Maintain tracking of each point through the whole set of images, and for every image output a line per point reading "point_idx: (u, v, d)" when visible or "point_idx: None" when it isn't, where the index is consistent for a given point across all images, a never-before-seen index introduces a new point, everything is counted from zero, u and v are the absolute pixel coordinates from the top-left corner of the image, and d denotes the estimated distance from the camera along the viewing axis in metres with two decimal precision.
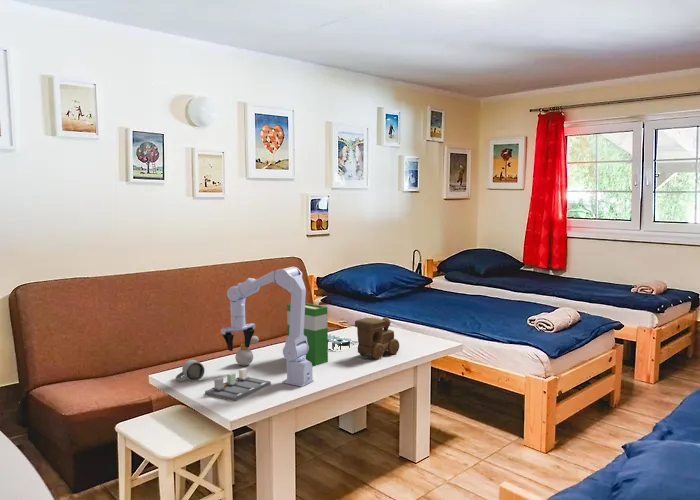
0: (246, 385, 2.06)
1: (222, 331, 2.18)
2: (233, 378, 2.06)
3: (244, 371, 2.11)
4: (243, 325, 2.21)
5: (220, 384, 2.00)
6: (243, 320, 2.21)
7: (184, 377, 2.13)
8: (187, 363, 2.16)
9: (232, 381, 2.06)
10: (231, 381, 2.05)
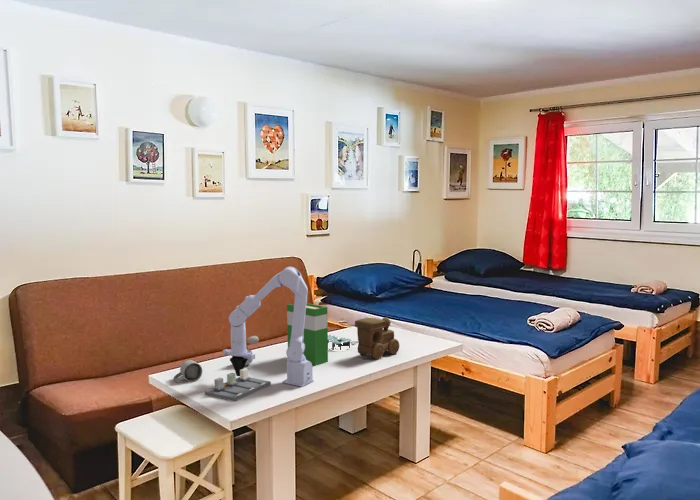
0: (246, 385, 2.06)
1: None
2: (233, 378, 2.06)
3: (245, 371, 2.11)
4: (235, 352, 2.09)
5: (220, 384, 2.00)
6: (235, 347, 2.09)
7: (182, 377, 2.13)
8: (185, 363, 2.16)
9: (232, 381, 2.06)
10: (231, 381, 2.05)
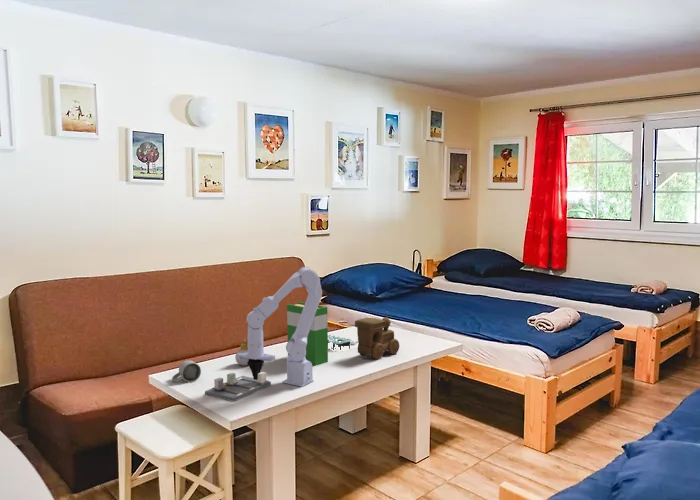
0: (246, 385, 2.06)
1: None
2: (233, 378, 2.06)
3: (263, 375, 2.06)
4: (254, 355, 2.05)
5: (220, 384, 2.00)
6: (254, 350, 2.05)
7: (180, 378, 2.12)
8: (183, 364, 2.15)
9: (232, 381, 2.06)
10: (231, 381, 2.05)
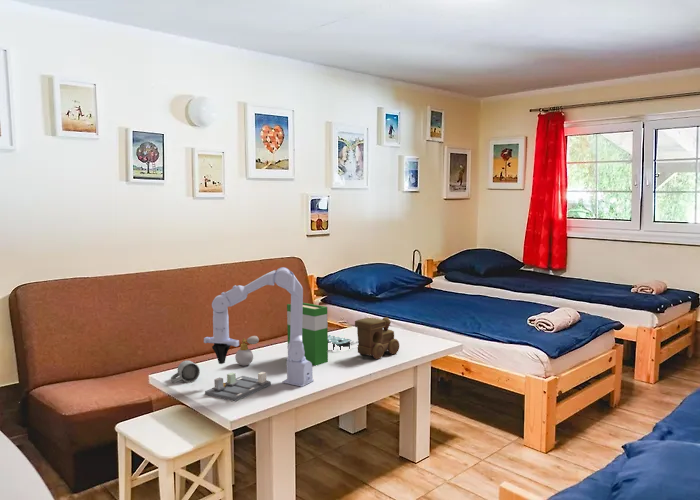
0: (246, 385, 2.06)
1: None
2: (233, 378, 2.06)
3: (263, 375, 2.06)
4: (218, 339, 2.05)
5: (220, 384, 2.00)
6: (218, 334, 2.05)
7: (179, 378, 2.12)
8: (182, 364, 2.15)
9: (232, 381, 2.06)
10: (231, 381, 2.05)
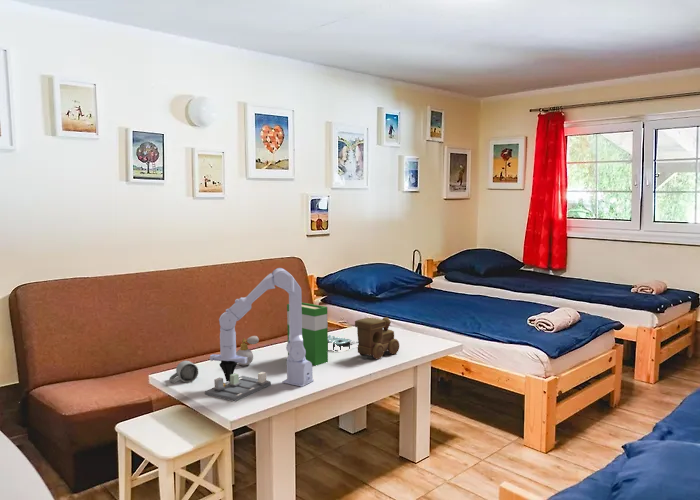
0: (246, 385, 2.06)
1: None
2: (236, 379, 2.05)
3: (263, 375, 2.06)
4: (226, 356, 2.03)
5: (220, 384, 2.00)
6: (226, 351, 2.03)
7: (178, 378, 2.12)
8: (181, 364, 2.15)
9: (235, 382, 2.05)
10: (234, 382, 2.04)
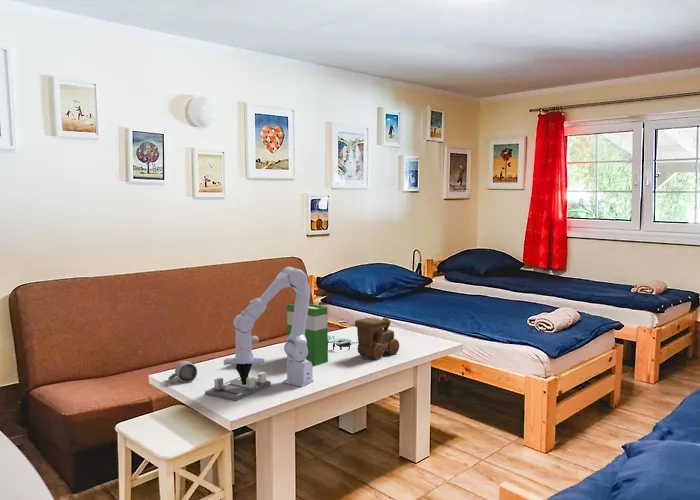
0: None
1: None
2: (252, 382, 2.01)
3: (263, 375, 2.06)
4: (244, 359, 1.99)
5: (220, 384, 2.00)
6: (244, 354, 1.99)
7: (177, 378, 2.12)
8: (180, 364, 2.15)
9: (251, 385, 2.01)
10: (250, 385, 2.00)
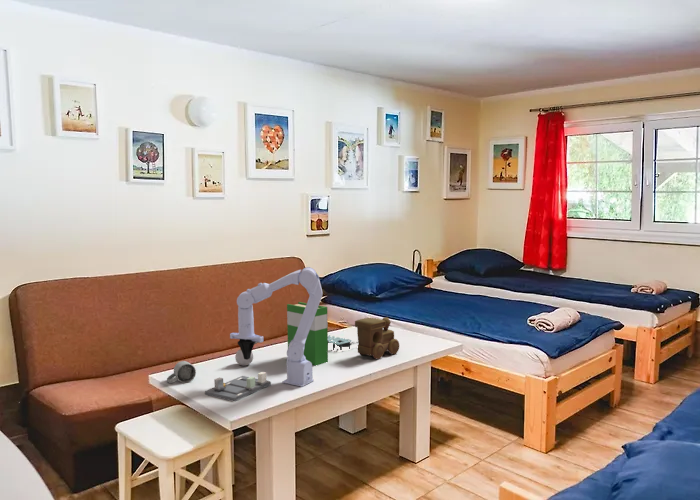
0: (246, 385, 2.06)
1: None
2: (253, 382, 2.01)
3: (263, 375, 2.06)
4: (243, 335, 2.08)
5: (220, 384, 2.00)
6: (243, 329, 2.08)
7: (175, 378, 2.11)
8: (178, 364, 2.14)
9: (252, 385, 2.01)
10: (251, 385, 2.00)
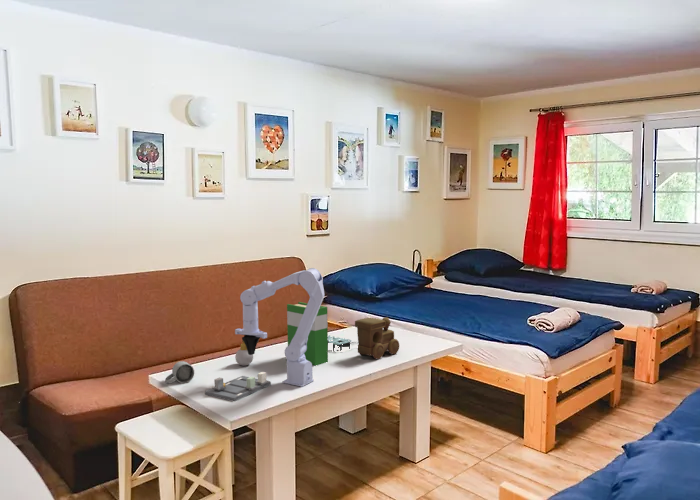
0: (246, 385, 2.06)
1: None
2: (253, 382, 2.01)
3: (263, 375, 2.06)
4: (247, 331, 2.12)
5: (220, 384, 2.00)
6: (247, 325, 2.12)
7: (173, 379, 2.11)
8: (177, 365, 2.14)
9: (252, 385, 2.01)
10: (251, 385, 2.00)
